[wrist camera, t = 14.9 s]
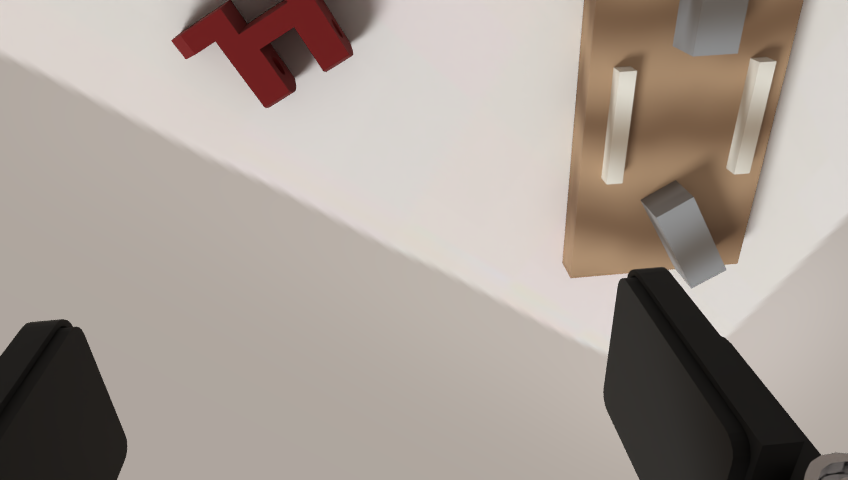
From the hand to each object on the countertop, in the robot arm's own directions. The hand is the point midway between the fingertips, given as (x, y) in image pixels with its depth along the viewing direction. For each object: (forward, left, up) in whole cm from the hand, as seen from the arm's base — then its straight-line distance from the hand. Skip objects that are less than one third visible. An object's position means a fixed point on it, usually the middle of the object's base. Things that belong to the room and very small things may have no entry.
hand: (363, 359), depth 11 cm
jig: (+6, +19, -28) cm, 35 cm away
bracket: (-3, 0, -27) cm, 27 cm away
